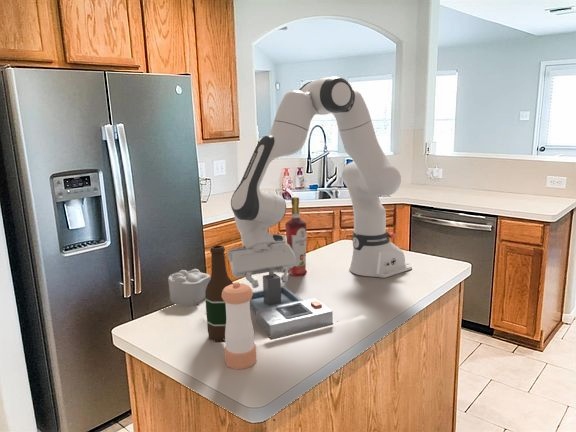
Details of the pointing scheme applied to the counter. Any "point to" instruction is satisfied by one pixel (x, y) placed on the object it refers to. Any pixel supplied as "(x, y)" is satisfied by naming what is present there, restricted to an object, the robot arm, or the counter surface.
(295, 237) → the liquor
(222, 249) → the beer bottle
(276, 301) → the plug
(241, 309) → the pepper shaker
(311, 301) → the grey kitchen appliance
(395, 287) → the counter surface
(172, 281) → the lumpy-topped squat cylinder
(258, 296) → the tray
